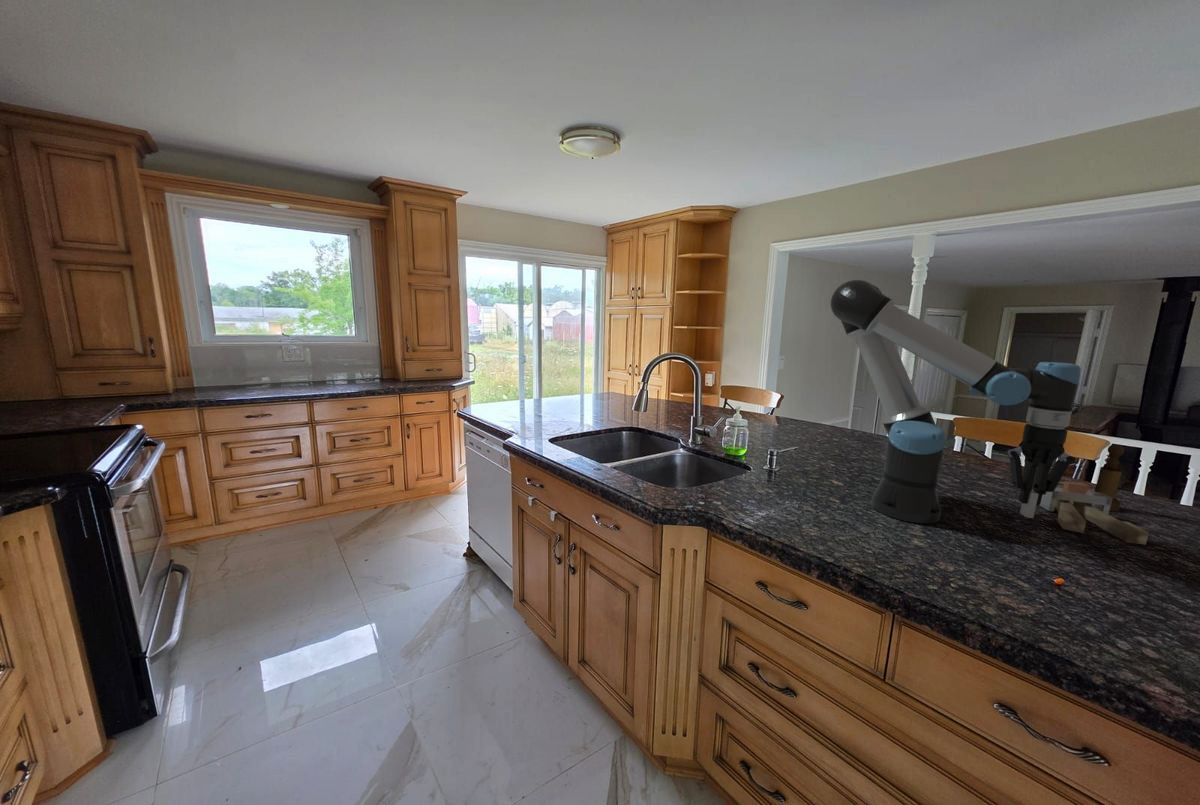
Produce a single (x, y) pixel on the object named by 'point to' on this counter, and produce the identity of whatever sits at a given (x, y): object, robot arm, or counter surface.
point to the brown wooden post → (1110, 476)
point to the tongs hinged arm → (1069, 516)
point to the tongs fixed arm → (1112, 524)
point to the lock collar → (1076, 497)
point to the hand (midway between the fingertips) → (1026, 515)
